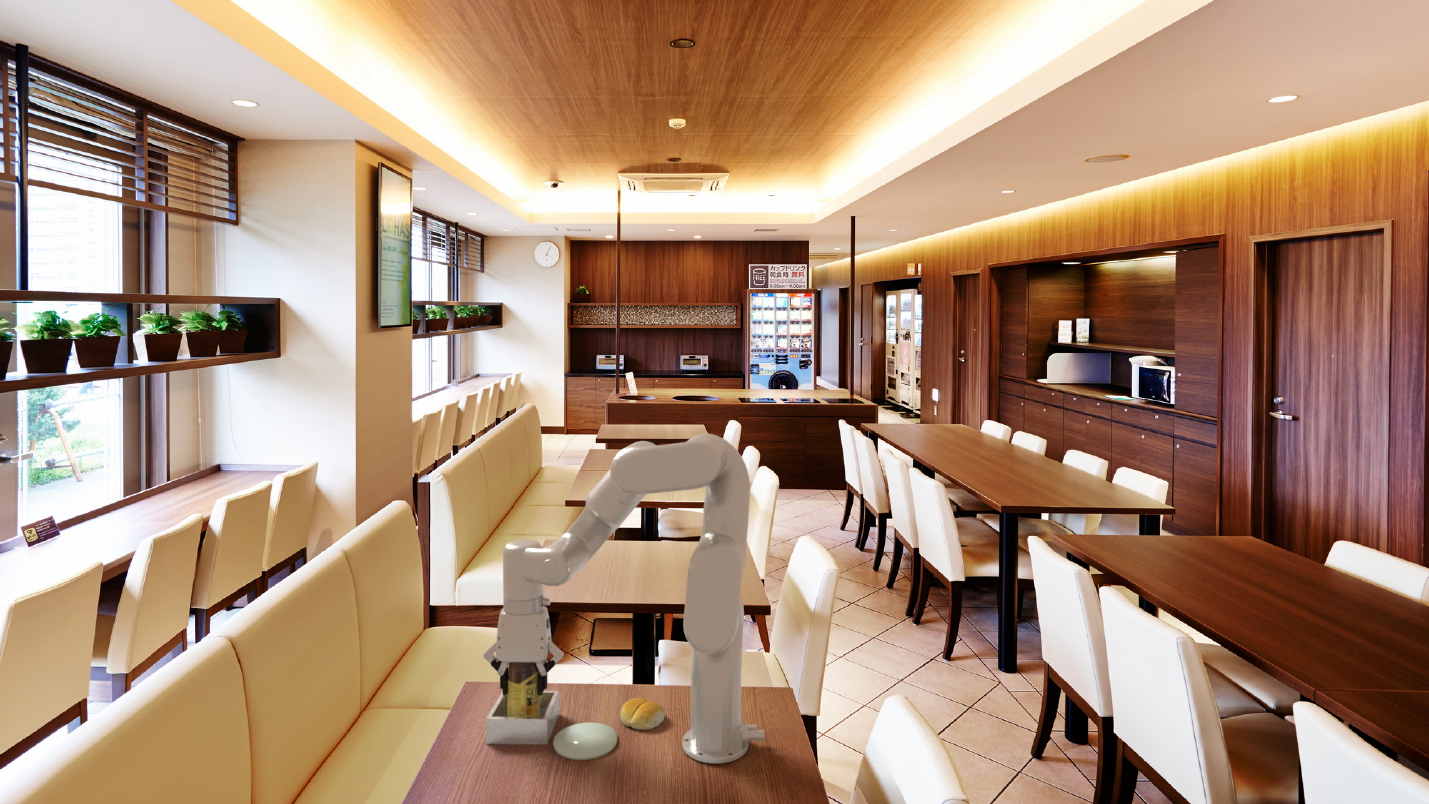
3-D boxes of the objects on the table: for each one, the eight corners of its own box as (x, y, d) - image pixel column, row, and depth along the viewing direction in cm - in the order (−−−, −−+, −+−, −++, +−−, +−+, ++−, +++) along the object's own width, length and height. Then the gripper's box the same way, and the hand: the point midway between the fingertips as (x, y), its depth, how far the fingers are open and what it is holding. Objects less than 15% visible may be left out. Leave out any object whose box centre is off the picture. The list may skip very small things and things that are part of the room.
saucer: (620, 726, 148) (620, 722, 148) (612, 760, 136) (612, 756, 136) (560, 726, 148) (560, 722, 148) (547, 759, 136) (547, 755, 136)
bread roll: (637, 706, 157) (637, 688, 156) (670, 719, 152) (670, 700, 151) (610, 722, 150) (610, 703, 150) (644, 736, 145) (644, 716, 145)
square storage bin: (559, 714, 153) (559, 690, 152) (547, 744, 141) (546, 719, 141) (502, 713, 152) (502, 690, 152) (486, 744, 141) (485, 718, 140)
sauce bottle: (531, 738, 143) (530, 639, 141) (501, 735, 144) (500, 636, 143) (545, 722, 149) (545, 626, 148) (517, 718, 151) (516, 624, 149)
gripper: (570, 597, 149) (571, 683, 150) (484, 597, 148) (485, 683, 150) (563, 611, 141) (564, 701, 142) (473, 610, 141) (474, 701, 142)
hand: (523, 691), depth 146 cm, fingers closed on sauce bottle, 6 cm apart
